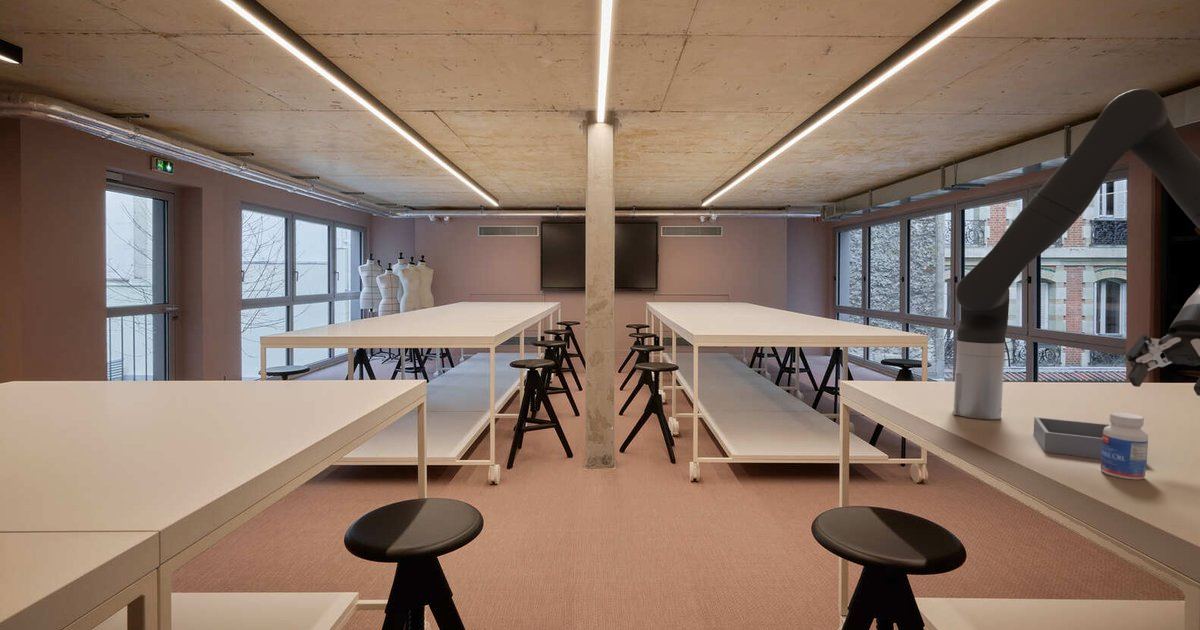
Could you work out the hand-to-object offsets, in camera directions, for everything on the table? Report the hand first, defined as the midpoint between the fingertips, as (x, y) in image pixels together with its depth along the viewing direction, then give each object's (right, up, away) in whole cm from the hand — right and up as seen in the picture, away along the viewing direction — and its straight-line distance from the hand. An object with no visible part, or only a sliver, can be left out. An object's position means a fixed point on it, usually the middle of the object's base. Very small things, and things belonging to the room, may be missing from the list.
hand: (1164, 387), depth 96 cm
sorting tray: (-3, -13, +12) cm, 18 cm away
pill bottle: (-9, -14, -2) cm, 17 cm away
